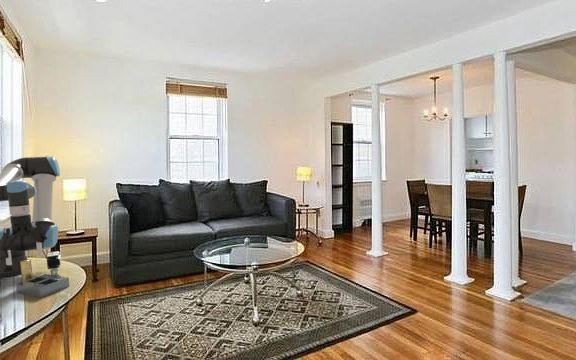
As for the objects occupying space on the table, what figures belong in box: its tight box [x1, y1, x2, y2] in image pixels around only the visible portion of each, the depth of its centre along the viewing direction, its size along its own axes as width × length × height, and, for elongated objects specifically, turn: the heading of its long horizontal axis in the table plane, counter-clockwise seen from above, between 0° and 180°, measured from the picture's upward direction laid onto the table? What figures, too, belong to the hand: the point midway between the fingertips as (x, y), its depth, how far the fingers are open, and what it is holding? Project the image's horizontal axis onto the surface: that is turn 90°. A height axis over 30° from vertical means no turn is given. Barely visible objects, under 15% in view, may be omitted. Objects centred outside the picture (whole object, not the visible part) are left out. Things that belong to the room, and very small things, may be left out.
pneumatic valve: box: [46, 250, 63, 276], centre depth 180 cm, size 6×12×12 cm, turn 28°
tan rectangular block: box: [20, 258, 34, 282], centre depth 167 cm, size 4×4×12 cm
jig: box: [15, 273, 70, 298], centre depth 162 cm, size 16×13×4 cm
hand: (25, 260), depth 166 cm, fingers open, 13 cm apart
